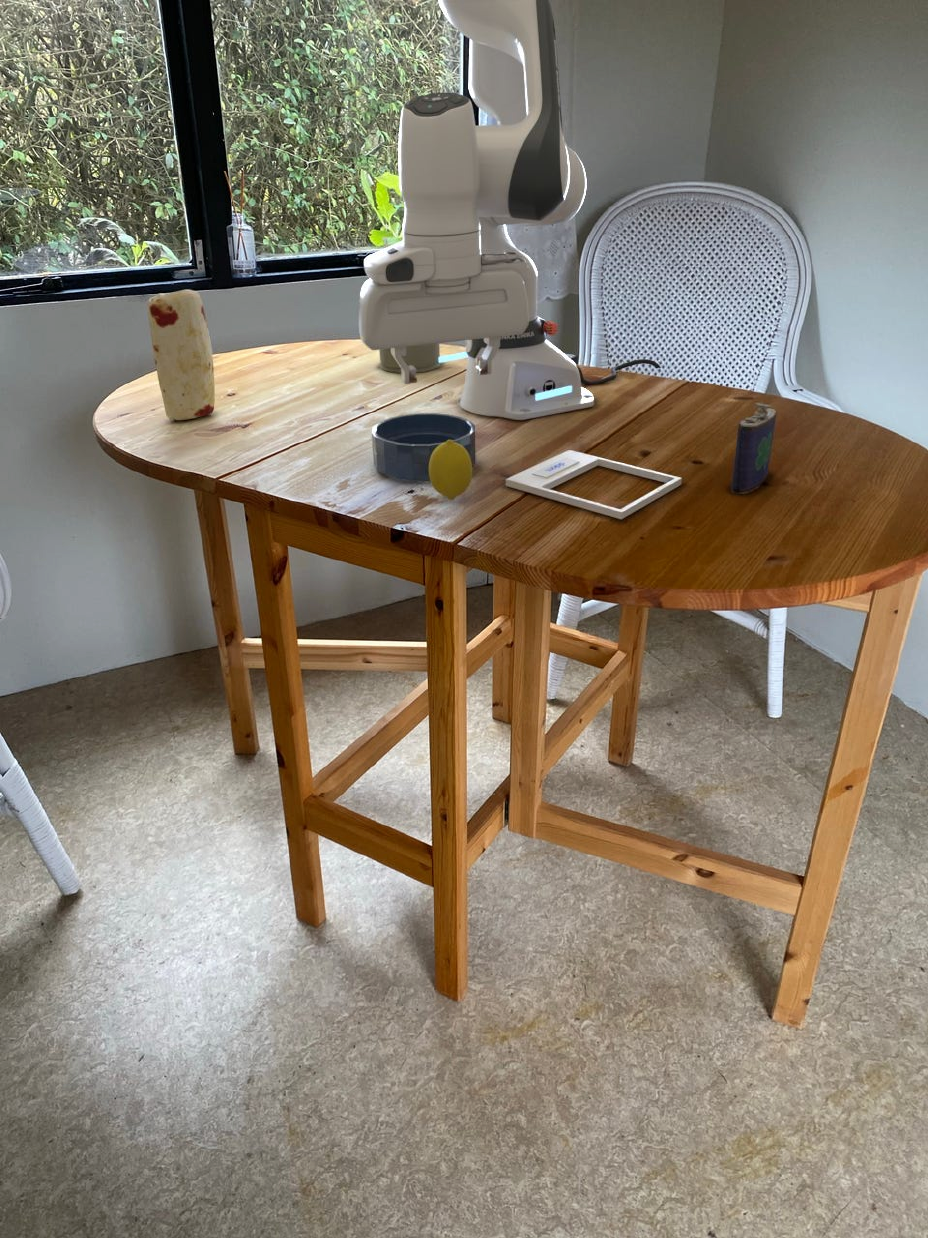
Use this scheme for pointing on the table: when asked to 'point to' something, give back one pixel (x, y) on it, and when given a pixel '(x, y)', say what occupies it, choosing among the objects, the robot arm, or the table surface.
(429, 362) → the can
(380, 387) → the table surface
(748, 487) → the flask
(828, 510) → the table surface
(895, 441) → the table surface
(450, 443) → the lemon
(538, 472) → the photo frame
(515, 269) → the robot arm
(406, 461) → the bowl
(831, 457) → the table surface
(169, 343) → the food model
